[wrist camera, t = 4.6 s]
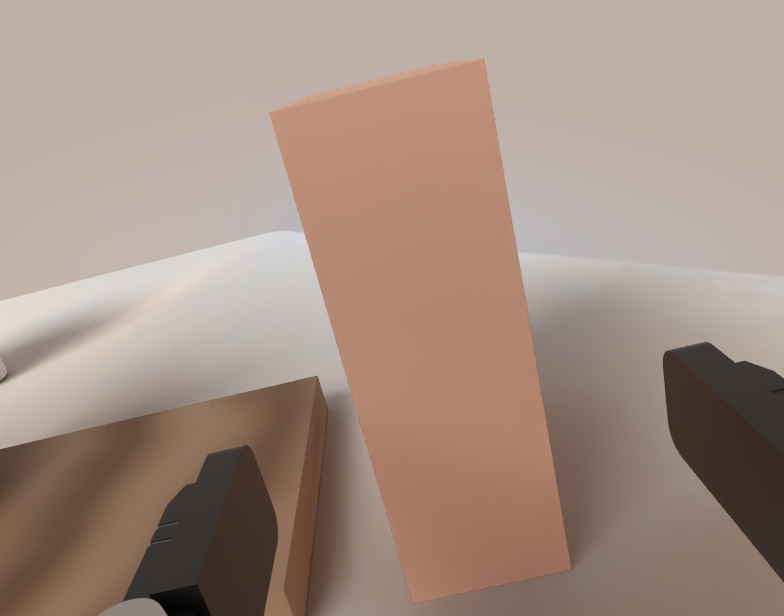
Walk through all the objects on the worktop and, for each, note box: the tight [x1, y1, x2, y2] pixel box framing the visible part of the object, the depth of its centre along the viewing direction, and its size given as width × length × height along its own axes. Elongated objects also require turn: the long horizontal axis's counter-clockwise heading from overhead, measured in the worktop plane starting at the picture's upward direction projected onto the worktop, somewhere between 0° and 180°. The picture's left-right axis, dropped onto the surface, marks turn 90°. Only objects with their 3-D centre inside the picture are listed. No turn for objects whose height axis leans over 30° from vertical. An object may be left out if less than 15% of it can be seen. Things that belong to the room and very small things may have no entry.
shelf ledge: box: [0, 376, 328, 616], centre depth 24 cm, size 20×14×14 cm
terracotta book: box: [269, 59, 572, 604], centre depth 22 cm, size 5×11×15 cm, turn 4°
